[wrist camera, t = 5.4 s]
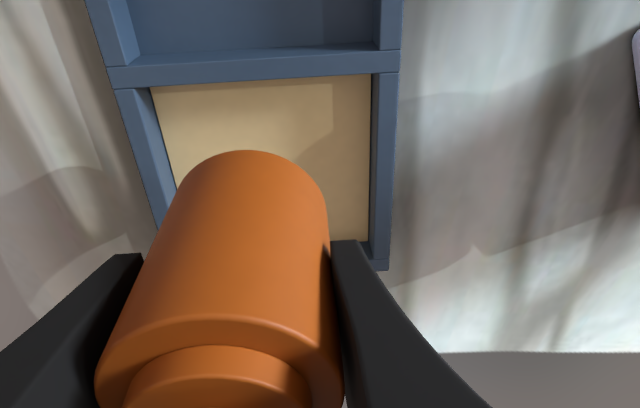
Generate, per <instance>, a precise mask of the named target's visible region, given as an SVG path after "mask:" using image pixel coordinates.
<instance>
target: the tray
mask: <svg viewBox="0 0 640 408" xmlns="http://www.w3.org/2000/svg"><path fill="white" fill-rule="evenodd" d="M84 1H85V4H86V8H87V11H88V14H89V17H90V20H91V23H92V26H93V30H94V33H95V36H96V39H97V42H98V45H99V48H100V51H101V55H102V58H103V61H104V64H105V66H106V71H107V74H108V77H109V80H110V83H111V86H112V89H114V94H115V98H116V101H117V104H118V107H119V110H120V113H121V116H122V119H123V123H124V126H125V129H126V132H127V135H128V138H129V141H130V145H131V148H132V151H133V154H134V157H135V160H136V163H137V167H138V170H139V173H140V176H141V179H142V182H143V185H144V189H145V192H146V195H147V198H148V201H149V204H150V207H151V210H152V214H153V217H154V220H155V223H156V226H157V229H158V231H159V228H160V226H161V224H162V222H163V220H164V217H165V215H166V213H167V211H168V209H169V207H170V204H171V202H172V200H173V198H174V196H175V193H176V191H177V189H178V187H179V185H180V183H181V182H182V180H183V178H184V177H185V176H186V175H187V174H188V173H189V171H191V170H192V169H193V168H194V167H195V166H196V165H198V164H199V163H201V162H202V161H204V160H206V159H208V158H210V157H212V156H214V155H218V154H221V153H224V152H229V151H235V150H258V151H263V152H269V153H272V154H275V155H278V156H281V157H283V158H285V159H287V160H289V161H291V162H293V163H294V164H296V165H297V166H299V167H300V168H301V169H303V170H304V171H305V172H306V173H307V174H308V175H309V176H310V177H311V178H312V179H313V180H314V182H315V183H316V184H317V186H318V187H319V189H320V191H321V193H322V195H323V198H324V201H325V205H326V210H327V220H328V229H329V239H330V241H336V240H351V239H356V240H357V241H358V242H360V244H361V246H362V248H363V250H364V252H365V254H366V256H367V258H368V260H369V261H370V263H371V265H372V267H373V268H374V270H375V271H388V270H389V255H390V237H391V219H392V201H393V183H394V165H395V147H396V129H397V111H398V93H399V75H400V74H399V71H400V60H401V50H400V49H401V42H402V24H403V6H404V0H84Z"/></svg>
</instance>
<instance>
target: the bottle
mask: <svg viewBox="0 0 640 408" xmlns="http://www.w3.org/2000/svg"><path fill="white" fill-rule="evenodd" d="M94 391H95V397H96V400H97V403H98V405H99V407H100V408H341V407H342V405H343V401H344V396H345V381H344V371H343V362H342V352H341V343H340V333H339V324H338V315H337V308H336V301H335V295H334V288H333V279H332V269H331V259H330V239H329V229H328V220H327V210H326V205H325V201H324V198H323V195H322V193H321V191H320V189H319V187H318V186H317V184H316V183H315V182H314V180H313V179H312V178H311V177H310V176H309V175H308V174H307V173H306V172H305V171H304V170H303V169H301V168H300V167H299V166H297V165H296V164H294V163H293V162H291V161H289V160H287V159H285V158H283V157H281V156H278V155H275V154H272V153H269V152H263V151H258V150H235V151H229V152H224V153H221V154H218V155H214V156H212V157H210V158H208V159H206V160H204V161H202V162H201V163H199V164H198V165H196V166H195V167H194V168H193V169H192V170H191V171H189V173H188V174H187V175H186V176H185V177H184V178H183V180H182V182H181V183H180V185H179V187H178V189H177V191H176V193H175V196H174V198H173V200H172V202H171V204H170V207H169V209H168V211H167V213H166V215H165V217H164V220H163V222H162V224H161V226H160V228H159V231H158V233H157V235H156V237H155V239H154V241H153V244H152V246H151V248H150V250H149V252H148V255H147V257H146V259H145V261H144V263H143V266H142V268H141V270H140V272H139V274H138V276H137V279H136V281H135V283H134V285H133V287H132V290H131V292H130V294H129V296H128V298H127V300H126V303H125V305H124V307H123V309H122V311H121V314H120V316H119V318H118V320H117V322H116V325H115V327H114V329H113V331H112V333H111V335H110V338H109V340H108V342H107V344H106V346H105V349H104V351H103V353H102V355H101V357H100V359H99V362H98V364H97V367H96V370H95V375H94Z"/></svg>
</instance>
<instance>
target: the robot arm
mask: <svg viewBox="0 0 640 408" xmlns="http://www.w3.org/2000/svg"><path fill="white" fill-rule="evenodd" d="M632 50H633V58H634V66H635V74H636V82H637V90H638V98H639V106H640V29H639V30H638V31H637V32H636V33H635V34H634V37H633V39H632ZM330 259H331V269H332V279H333V288H334V295H335V301H336V308H337V315H338V324H339V333H340V343H341V352H342V362H343V371H344V381H345V396H346V402H347V407H348V408H492V407H491V406H490V405H489V404H487V402H486V401H484V400H483V399H482V398H481V397H480V396H479V395H478V394H477V393H476V392H475V391H474V390H473V389H472V388H471V387H470V386H469V385H468V384H467V383H466V382H465V381H464V380H463V379H462V378H461V377H460V376H459V375H458V374H457V373H456V372H455V371H454V370H453V369H452V368H451V367H450V366H449V365H448V364H447V363H446V362H445V361H444V360H443V358H441V356H440V355H439V354H438V353H437V352H436V351H435V350H434V348H433V347H432V346H431V345H430V344H429V343H428V342H427V340H426V339H425V338H424V337H423V336H422V335H421V333H420V332H419V331H418V330H417V328H416V327H415V326H414V325H413V323H412V322H411V321H410V320H409V318H408V317H407V316H406V315H405V313H404V312H403V311H402V309H401V308H400V307H399V305H398V304H397V302H396V301H395V300H394V298H393V297H392V295H391V294H390V293H389V291H388V290H387V288H386V287H385V285H384V284H383V282H382V281H381V279H380V278H379V276H378V275H377V273H376V271H375V270H374V268H373V267H372V265H371V263H370V261H369V260H368V258H367V256H366V254H365V252H364V250H363V248H362V246H361V244H360V242H358V241H357V240H356V239H351V240H336V241H330ZM143 263H144V260H143V258H142V255H141V253H130V254H115V255H113V256H112V257H111V258H110V259H108V260H107V261H106V262H105V263H104V264H102V265H101V266H100V267H99V268H98V269H97V270H96V271H94V272H93V273H92V274H91V275H90V276H89V277H88V278H87V279H85V280H84V281H83V282H82V283H81V284H80V285H79V286H78V287H76V288H75V289H74V290H73V291H72V292H71V293H70V294H69V295H67V296H66V297H65V298H64V299H63V300H62V301H61V302H59V303H58V304H57V305H56V306H55V307H54V308H53V309H51V310H50V311H49V312H48V313H47V314H46V315H45V316H44V317H42V318H41V319H40V320H39V321H38V322H37V323H35V324H34V325H33V326H32V327H30V328H29V329H28V330H27V331H26V332H24V333H23V334H22V335H21V336H20V337H18V338H17V339H16V340H14V341H13V342H12V343H11V344H10V345H8V346H7V347H6V348H5V349H3V350H2V351H1V352H0V408H100V407H99V405H98V403H97V400H96V397H95V391H94V375H95V370H96V367H97V364H98V362H99V359H100V357H101V355H102V353H103V351H104V349H105V346H106V344H107V342H108V340H109V338H110V335H111V333H112V331H113V329H114V327H115V325H116V322H117V320H118V318H119V316H120V314H121V311H122V309H123V307H124V305H125V303H126V300H127V298H128V296H129V294H130V292H131V290H132V287H133V285H134V283H135V281H136V279H137V276H138V274H139V272H140V270H141V268H142V266H143Z"/></svg>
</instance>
